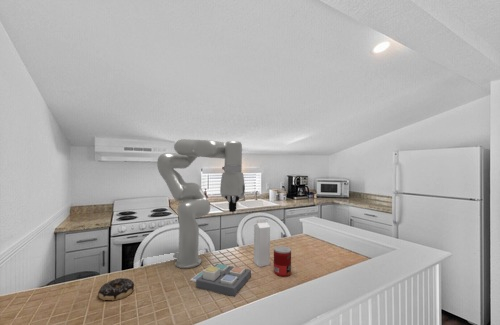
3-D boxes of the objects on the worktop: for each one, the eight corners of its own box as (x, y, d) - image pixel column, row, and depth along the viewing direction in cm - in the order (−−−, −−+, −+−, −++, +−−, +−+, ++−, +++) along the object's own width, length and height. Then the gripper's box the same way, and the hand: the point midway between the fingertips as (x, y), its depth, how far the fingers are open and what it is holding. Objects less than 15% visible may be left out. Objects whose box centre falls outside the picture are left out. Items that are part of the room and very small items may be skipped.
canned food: (290, 277, 99) (291, 252, 100) (272, 276, 101) (272, 251, 101) (291, 270, 107) (291, 246, 107) (274, 268, 109) (274, 245, 109)
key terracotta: (229, 279, 96) (229, 270, 96) (234, 274, 101) (234, 266, 101) (240, 281, 94) (240, 272, 94) (245, 276, 99) (245, 268, 99)
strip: (190, 281, 96) (190, 279, 96) (204, 270, 106) (204, 268, 106) (197, 282, 94) (197, 280, 94) (211, 271, 105) (211, 269, 105)
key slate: (220, 288, 89) (220, 279, 89) (226, 282, 93) (226, 273, 93) (231, 290, 87) (232, 281, 87) (237, 284, 91) (237, 276, 92)
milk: (253, 262, 115) (253, 219, 116) (264, 260, 118) (264, 218, 119) (259, 267, 110) (259, 221, 111) (270, 265, 113) (270, 220, 113)
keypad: (195, 287, 90) (196, 279, 91) (217, 270, 106) (217, 263, 106) (234, 296, 84) (234, 288, 84) (250, 276, 100) (250, 269, 100)
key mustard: (203, 278, 92) (203, 270, 92) (209, 273, 96) (209, 265, 96) (213, 281, 90) (214, 272, 90) (220, 275, 94) (220, 267, 95)
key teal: (213, 275, 99) (213, 267, 99) (218, 271, 104) (218, 263, 104) (223, 277, 97) (223, 269, 97) (228, 272, 102) (228, 265, 102)
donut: (111, 286, 91) (111, 276, 91) (140, 286, 91) (140, 276, 91) (91, 302, 80) (91, 290, 80) (124, 302, 80) (124, 291, 80)
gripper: (213, 169, 99) (213, 211, 98) (245, 169, 93) (245, 214, 93) (222, 169, 106) (221, 208, 105) (252, 169, 100) (251, 211, 100)
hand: (232, 211), depth 99 cm, fingers closed
